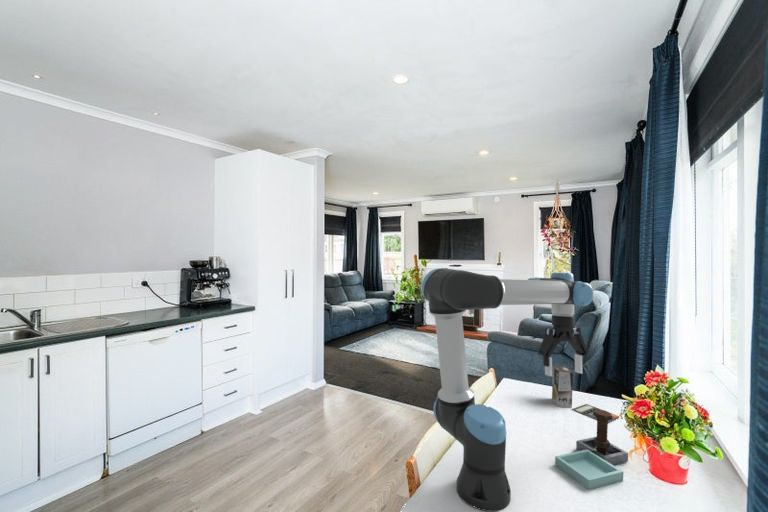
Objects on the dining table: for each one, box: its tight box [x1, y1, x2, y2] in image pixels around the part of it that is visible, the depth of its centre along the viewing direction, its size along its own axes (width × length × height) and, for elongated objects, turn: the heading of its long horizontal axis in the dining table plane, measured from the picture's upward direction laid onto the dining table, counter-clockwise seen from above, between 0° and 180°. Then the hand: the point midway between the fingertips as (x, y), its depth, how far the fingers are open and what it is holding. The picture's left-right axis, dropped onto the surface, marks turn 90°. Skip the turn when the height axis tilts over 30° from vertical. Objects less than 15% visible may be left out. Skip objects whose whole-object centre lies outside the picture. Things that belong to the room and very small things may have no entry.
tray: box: [554, 450, 624, 491], centre depth 116 cm, size 14×13×3 cm
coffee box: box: [551, 365, 574, 409], centre depth 169 cm, size 9×6×16 cm
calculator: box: [571, 403, 619, 424], centre depth 159 cm, size 12×1×15 cm
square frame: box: [575, 436, 629, 466], centre depth 126 cm, size 10×11×3 cm
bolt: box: [593, 408, 612, 456], centre depth 126 cm, size 6×5×15 cm
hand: (563, 374), depth 131 cm, fingers open, 13 cm apart
